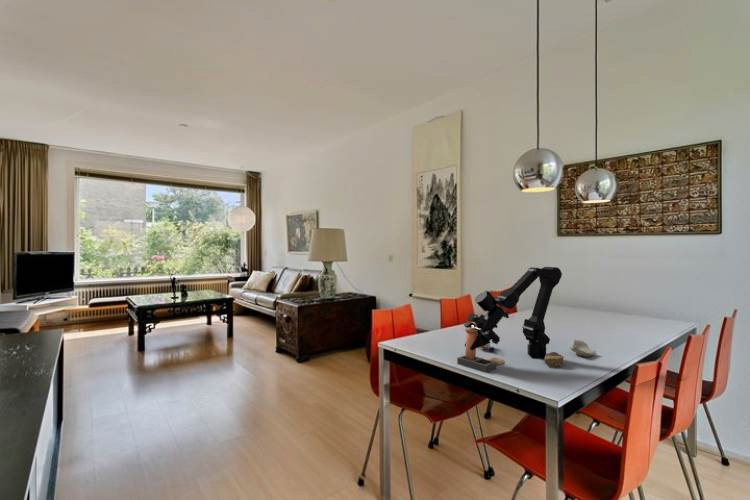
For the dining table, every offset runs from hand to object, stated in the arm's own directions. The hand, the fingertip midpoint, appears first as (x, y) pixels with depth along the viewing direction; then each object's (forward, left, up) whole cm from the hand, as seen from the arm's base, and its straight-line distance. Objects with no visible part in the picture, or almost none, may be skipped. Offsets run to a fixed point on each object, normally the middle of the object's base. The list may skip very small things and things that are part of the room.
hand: (468, 347), depth 146 cm
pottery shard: (-51, -15, -7) cm, 54 cm away
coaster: (-11, -4, -7) cm, 14 cm away
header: (-3, +2, -7) cm, 7 cm away
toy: (-11, -23, -7) cm, 26 cm away
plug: (-1, 0, -6) cm, 6 cm away
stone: (-34, -4, -7) cm, 35 cm away
